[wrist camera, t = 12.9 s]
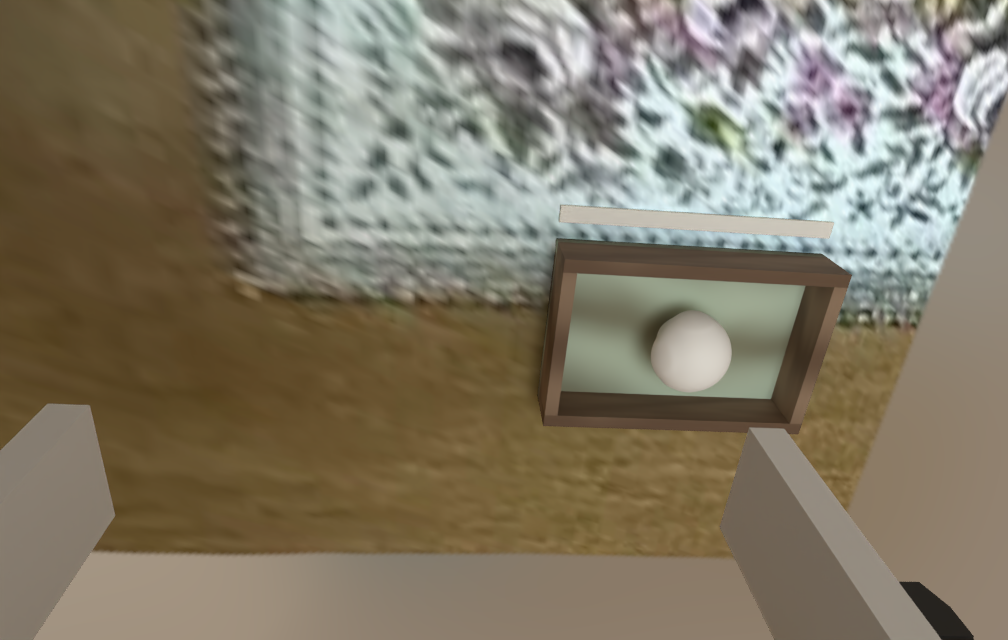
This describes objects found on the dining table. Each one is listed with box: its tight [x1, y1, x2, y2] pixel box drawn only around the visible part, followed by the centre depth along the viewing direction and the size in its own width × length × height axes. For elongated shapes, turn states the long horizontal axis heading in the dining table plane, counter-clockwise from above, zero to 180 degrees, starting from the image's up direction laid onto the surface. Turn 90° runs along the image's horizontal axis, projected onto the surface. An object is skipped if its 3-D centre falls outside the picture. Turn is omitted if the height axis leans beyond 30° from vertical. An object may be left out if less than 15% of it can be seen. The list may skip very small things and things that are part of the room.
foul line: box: [559, 205, 834, 239], centre depth 40 cm, size 1×17×1 cm, turn 85°
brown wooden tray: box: [537, 238, 852, 434], centre depth 41 cm, size 11×17×4 cm, turn 85°
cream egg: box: [651, 310, 732, 392], centre depth 40 cm, size 5×5×5 cm
